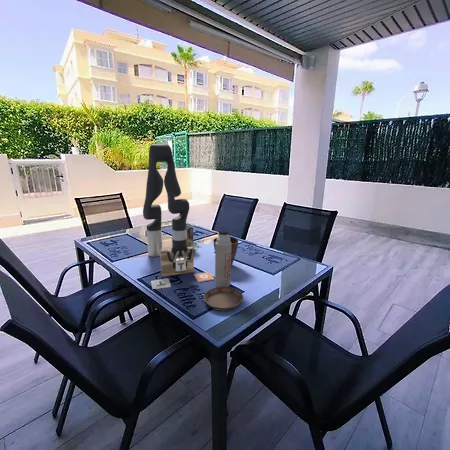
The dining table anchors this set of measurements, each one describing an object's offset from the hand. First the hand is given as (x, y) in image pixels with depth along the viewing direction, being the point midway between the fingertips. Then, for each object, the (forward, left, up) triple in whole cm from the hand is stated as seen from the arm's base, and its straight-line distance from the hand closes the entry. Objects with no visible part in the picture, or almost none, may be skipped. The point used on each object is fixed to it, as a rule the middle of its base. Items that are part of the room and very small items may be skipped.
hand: (179, 267), depth 139 cm
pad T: (+4, -11, -6) cm, 13 cm away
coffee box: (-41, +13, -6) cm, 43 cm away
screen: (-7, 0, -6) cm, 9 cm away
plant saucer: (+30, +13, -6) cm, 34 cm away
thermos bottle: (+14, +19, -6) cm, 25 cm away
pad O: (+4, +12, -6) cm, 14 cm away
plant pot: (-7, +29, -6) cm, 30 cm away
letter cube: (0, 0, -1) cm, 1 cm away
